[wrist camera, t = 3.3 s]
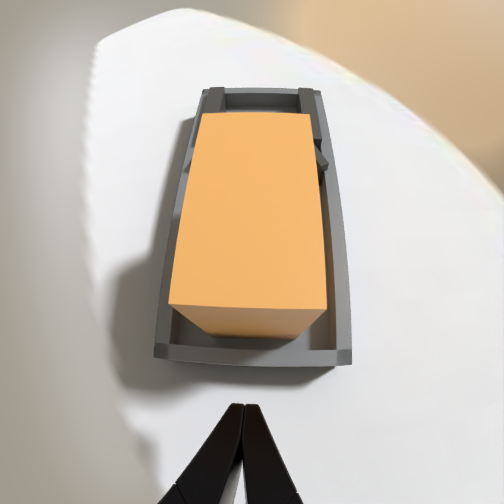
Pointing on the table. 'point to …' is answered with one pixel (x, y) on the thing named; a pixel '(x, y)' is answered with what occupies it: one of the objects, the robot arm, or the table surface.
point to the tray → (336, 267)
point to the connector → (251, 229)
